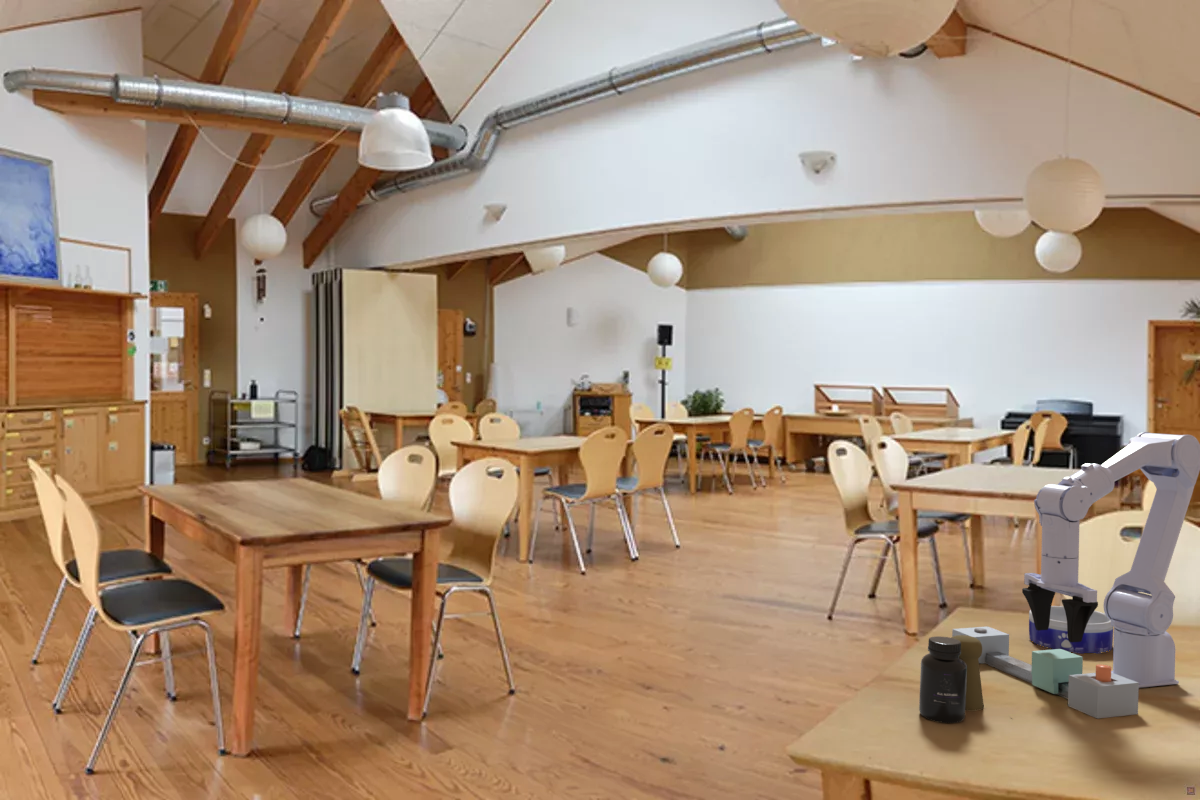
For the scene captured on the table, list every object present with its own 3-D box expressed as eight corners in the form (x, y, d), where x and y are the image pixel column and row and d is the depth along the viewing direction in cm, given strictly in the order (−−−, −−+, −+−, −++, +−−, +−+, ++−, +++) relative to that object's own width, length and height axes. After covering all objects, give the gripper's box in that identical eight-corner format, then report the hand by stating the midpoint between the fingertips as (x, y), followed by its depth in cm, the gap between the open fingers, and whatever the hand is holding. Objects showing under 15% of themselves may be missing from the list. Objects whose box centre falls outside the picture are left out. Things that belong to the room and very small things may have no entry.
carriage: (1059, 682, 166) (1060, 648, 166) (1082, 691, 162) (1082, 656, 161) (1031, 684, 165) (1031, 651, 164) (1052, 694, 160) (1053, 659, 160)
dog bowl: (1034, 650, 188) (1034, 619, 188) (1023, 631, 203) (1024, 602, 203) (1120, 657, 184) (1121, 626, 184) (1103, 637, 198) (1104, 608, 198)
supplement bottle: (943, 727, 145) (945, 648, 145) (909, 712, 151) (911, 637, 151) (975, 720, 148) (977, 642, 148) (941, 706, 154) (942, 632, 154)
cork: (987, 712, 152) (988, 642, 152) (947, 708, 153) (948, 640, 153) (980, 699, 158) (981, 633, 158) (941, 696, 159) (942, 630, 159)
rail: (999, 662, 179) (999, 651, 179) (1090, 700, 158) (1091, 688, 158) (985, 663, 178) (985, 653, 178) (1075, 702, 157) (1076, 690, 157)
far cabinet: (987, 652, 186) (987, 624, 186) (1008, 660, 180) (1009, 632, 180) (951, 655, 183) (952, 626, 183) (972, 664, 178) (973, 635, 178)
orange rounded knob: (1103, 688, 155) (1103, 663, 155) (1114, 692, 153) (1114, 667, 153) (1092, 689, 154) (1092, 664, 154) (1102, 694, 152) (1103, 668, 152)
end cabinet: (1107, 701, 158) (1108, 671, 157) (1137, 714, 152) (1138, 682, 152) (1068, 705, 155) (1068, 675, 155) (1096, 718, 149) (1097, 686, 149)
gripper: (1010, 549, 168) (1008, 626, 169) (1072, 564, 154) (1070, 648, 155) (1043, 547, 170) (1042, 623, 171) (1108, 562, 156) (1106, 645, 157)
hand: (1058, 635), depth 163 cm, fingers open, 7 cm apart
